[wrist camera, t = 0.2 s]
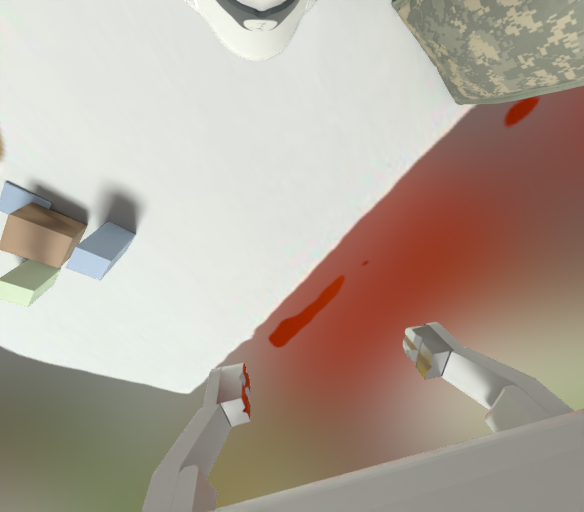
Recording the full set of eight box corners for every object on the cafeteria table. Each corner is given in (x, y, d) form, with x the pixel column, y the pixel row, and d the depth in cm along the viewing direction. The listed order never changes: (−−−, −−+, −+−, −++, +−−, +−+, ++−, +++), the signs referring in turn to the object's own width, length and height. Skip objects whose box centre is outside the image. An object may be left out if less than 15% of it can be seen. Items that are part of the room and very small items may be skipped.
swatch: (-1, 208, 38) (-4, 209, 38) (6, 181, 36) (4, 182, 36) (42, 227, 41) (41, 228, 41) (52, 203, 39) (50, 203, 39)
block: (23, 274, 45) (-9, 297, 40) (30, 257, 44) (-3, 279, 38) (53, 284, 48) (27, 307, 42) (60, 269, 46) (34, 291, 40)
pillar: (99, 238, 44) (65, 267, 36) (108, 220, 42) (75, 246, 34) (126, 250, 46) (100, 280, 38) (135, 234, 45) (111, 261, 37)
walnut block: (20, 234, 40) (-3, 249, 36) (31, 201, 38) (8, 213, 34) (74, 253, 45) (59, 268, 41) (87, 225, 42) (73, 238, 38)
